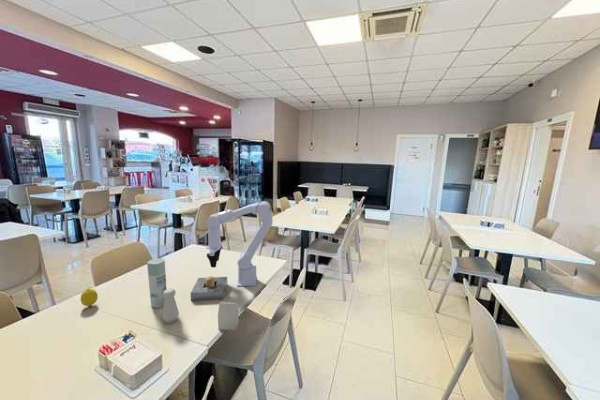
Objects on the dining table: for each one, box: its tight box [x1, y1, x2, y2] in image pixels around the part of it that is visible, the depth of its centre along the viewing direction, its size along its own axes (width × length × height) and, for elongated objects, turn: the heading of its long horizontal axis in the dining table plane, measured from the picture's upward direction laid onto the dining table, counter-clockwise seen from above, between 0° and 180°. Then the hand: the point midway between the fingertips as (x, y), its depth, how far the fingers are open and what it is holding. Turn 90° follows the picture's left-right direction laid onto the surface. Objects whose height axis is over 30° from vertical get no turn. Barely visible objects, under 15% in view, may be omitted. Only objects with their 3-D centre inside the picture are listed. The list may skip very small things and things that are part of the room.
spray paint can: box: [146, 257, 168, 309], centre depth 109 cm, size 6×6×20 cm
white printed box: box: [217, 301, 239, 331], centre depth 97 cm, size 4×7×10 cm, turn 87°
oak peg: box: [205, 276, 215, 287], centre depth 121 cm, size 4×4×7 cm
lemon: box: [80, 288, 99, 307], centre depth 107 cm, size 6×6×8 cm
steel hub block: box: [190, 276, 228, 302], centre depth 121 cm, size 14×14×4 cm
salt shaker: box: [162, 288, 180, 324], centre depth 99 cm, size 6×6×13 cm
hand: (215, 263), depth 128 cm, fingers open, 7 cm apart
